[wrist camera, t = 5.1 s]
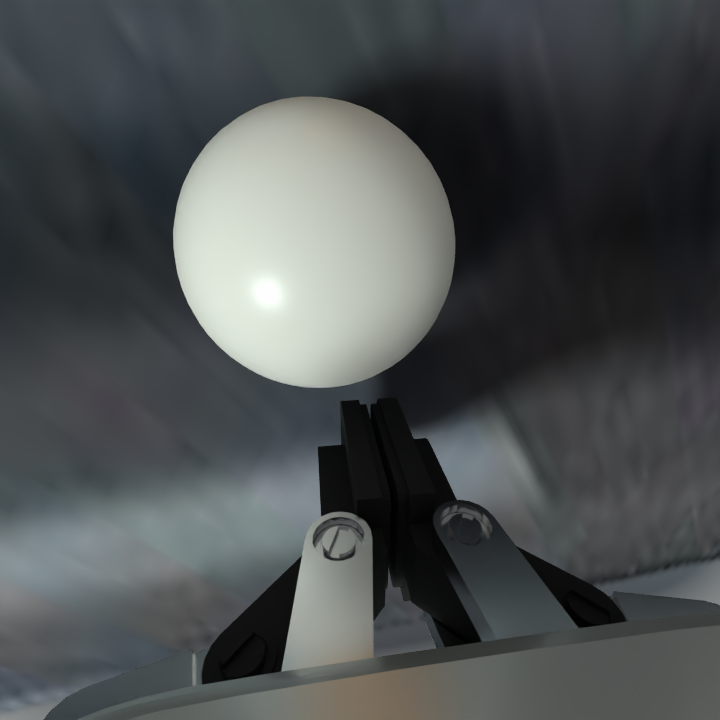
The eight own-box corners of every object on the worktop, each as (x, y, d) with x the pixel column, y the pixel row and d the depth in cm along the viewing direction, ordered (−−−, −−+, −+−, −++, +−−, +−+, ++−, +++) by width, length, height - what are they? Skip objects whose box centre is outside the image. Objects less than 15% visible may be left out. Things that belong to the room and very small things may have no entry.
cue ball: (481, 432, 7) (443, 293, 12) (485, 59, 4) (429, 64, 8) (204, 457, 8) (267, 317, 12) (13, 162, 5) (192, 116, 9)
